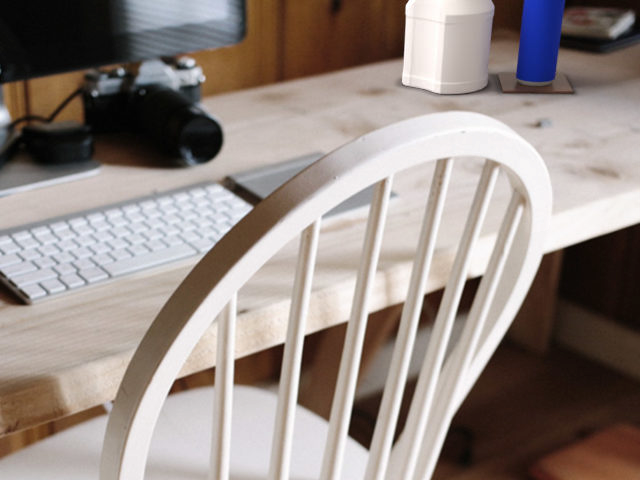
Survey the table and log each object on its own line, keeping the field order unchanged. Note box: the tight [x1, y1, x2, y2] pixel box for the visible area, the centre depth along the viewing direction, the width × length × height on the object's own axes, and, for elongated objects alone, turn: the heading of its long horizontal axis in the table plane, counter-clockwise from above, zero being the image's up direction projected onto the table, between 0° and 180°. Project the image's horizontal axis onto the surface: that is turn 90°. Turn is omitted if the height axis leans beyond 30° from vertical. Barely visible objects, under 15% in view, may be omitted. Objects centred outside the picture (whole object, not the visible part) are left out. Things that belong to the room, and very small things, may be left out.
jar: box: [401, 0, 495, 95], centre depth 136 cm, size 12×10×15 cm
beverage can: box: [515, 0, 566, 86], centre depth 135 cm, size 5×5×15 cm
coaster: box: [496, 72, 574, 94], centre depth 139 cm, size 9×9×1 cm
